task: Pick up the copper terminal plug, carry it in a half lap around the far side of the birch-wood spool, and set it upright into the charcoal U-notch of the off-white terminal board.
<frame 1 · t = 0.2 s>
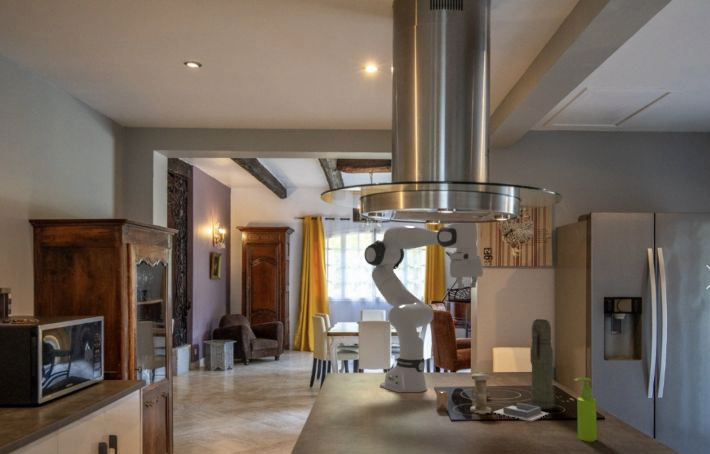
hand: (467, 288, 251), 47 cm above the counter, fingers open, 8 cm apart
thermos: (542, 406, 240), on the counter
wooden spool: (480, 411, 232), on the counter
soap dispenser: (585, 439, 197), on the counter
push button: (482, 396, 258), on the counter
terminal board: (521, 414, 228), on the counter
copper plug: (442, 410, 234), on the counter
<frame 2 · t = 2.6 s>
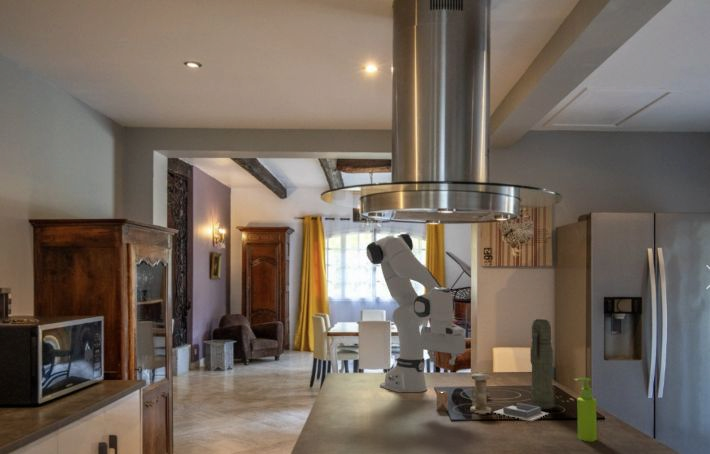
hand: (442, 363, 235), 18 cm above the counter, fingers open, 8 cm apart
nothing on the counter moved.
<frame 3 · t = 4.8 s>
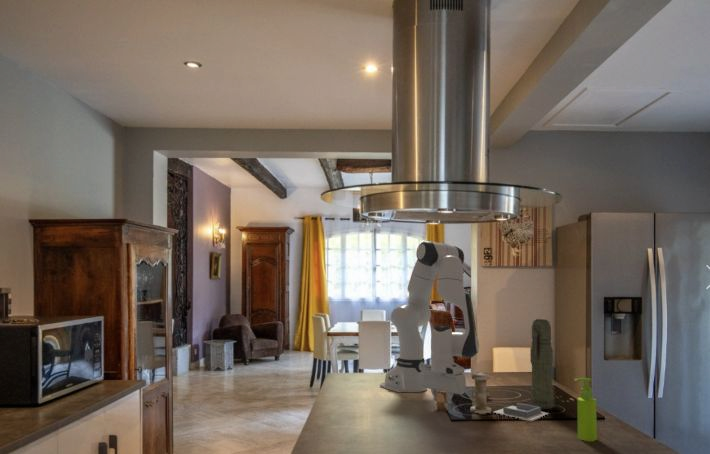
hand: (442, 402, 234), 3 cm above the counter, fingers closed on copper plug, 4 cm apart
copper plug: (442, 410, 234), on the counter, touching gripper
everything else where it was.
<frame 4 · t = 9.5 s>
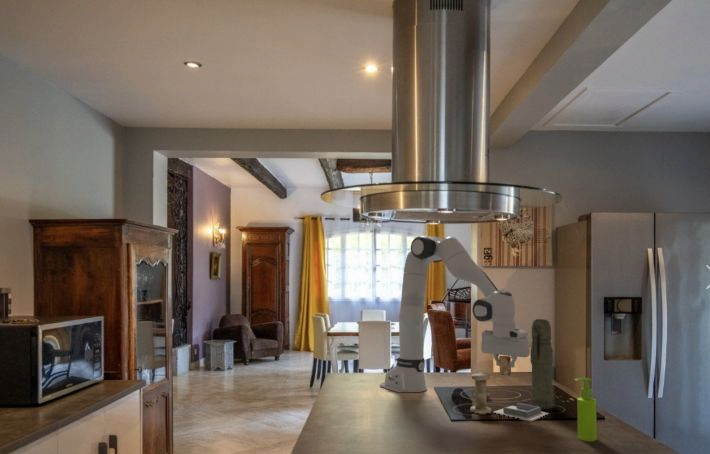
hand: (505, 366, 235), 17 cm above the counter, fingers closed on copper plug, 4 cm apart
copper plug: (505, 374, 235), point 14 cm above the counter, touching gripper
everything else where it was.
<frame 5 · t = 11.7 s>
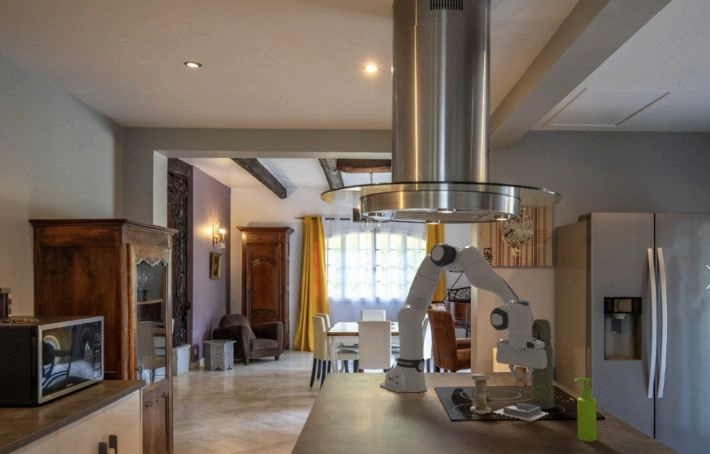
hand: (521, 377, 229), 14 cm above the counter, fingers closed on copper plug, 4 cm apart
copper plug: (521, 385, 229), point 11 cm above the counter, touching gripper
everything else where it was.
when the fingers open (5 cm above the counter, at t = 14.0 s): copper plug drops 1 cm, resting on terminal board.
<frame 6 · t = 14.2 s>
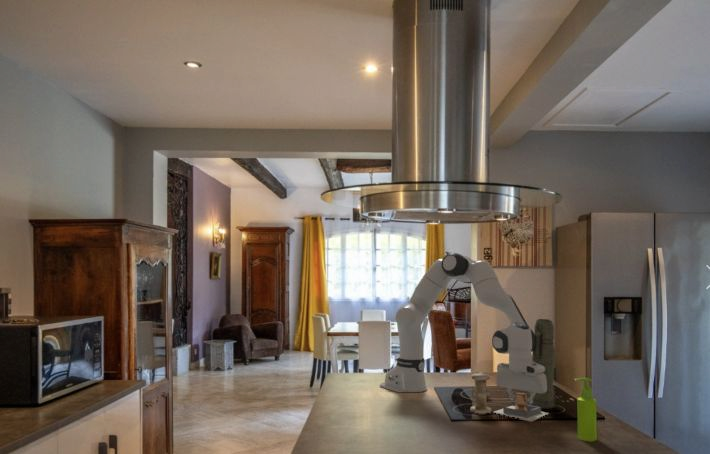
hand: (521, 401, 228), 5 cm above the counter, fingers open, 6 cm apart
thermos: (542, 406, 240), on the counter, touching arm
copper plug: (521, 412, 228), point 1 cm above the counter, touching terminal board
everything else where it was.
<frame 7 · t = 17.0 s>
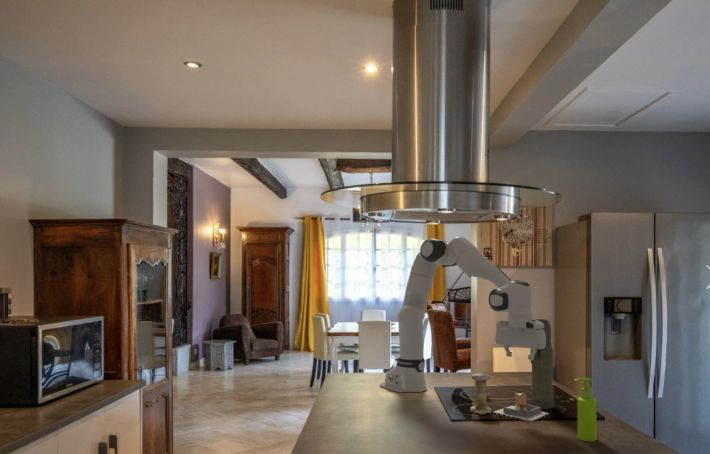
hand: (519, 358, 229), 21 cm above the counter, fingers open, 8 cm apart
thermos: (542, 406, 240), on the counter
everything else where it was.
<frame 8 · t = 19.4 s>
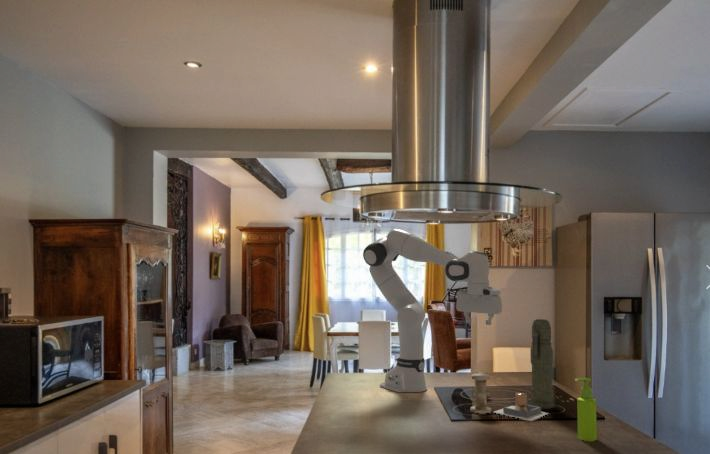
hand: (478, 323, 243), 33 cm above the counter, fingers open, 8 cm apart
nothing on the counter moved.
at the end: copper plug 0.1 cm off-centre on the terminal board, point 0.7 cm above the terminal board's base; copper plug tilted 2°; the gripper is holding nothing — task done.
